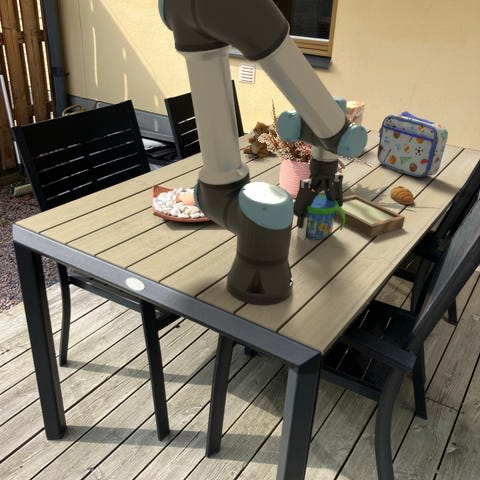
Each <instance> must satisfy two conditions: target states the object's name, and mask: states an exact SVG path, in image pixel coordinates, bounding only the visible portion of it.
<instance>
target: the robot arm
mask: <svg viewBox="0 0 480 480" xmlns="http://www.w3.org/2000/svg"><path fill="white" fill-rule="evenodd" d="M157 1H158V2H157V7H158V9H157V10H158V13H159V17H160V20H161V21H162V23H163V24H164V25H165V26H166V28H167V29H168V30H169V31H171V32H172V35H173V42H174V44H175V45H174V46H175V51H176V52H177V53H178V54H179V55H180V56H182V57H184V59H185V64H186V65H185V66H186V71H187V75H188V76H187V77H188V82H189V89H190V93H191V99H192V107H193V113H194V116H195V117H194V118H195V124H196V129H197V135H198V142H199V146H200V154H201V159H202V165H203V166H202V167H201V168H200V169H199V171H198V174H197V175H198V178H197V180H196V184H195V185H194V187H193V192H192V194H193V195H192V196H193V201H194V204H195V206H196V208H197V210H199V212H201V214H203V216H204V217H206V218H207V219H209V220H211V222H214V223H215V224H217V225H219V226H220V227H222V228H223V229H225V230H227V231H228V232H229V233H232V234H233V235H235V236H236V249H235V250H236V251H235V257H234V260H233V261H232V265H231V266H230V268H229V271H228V272H227V275H226V288H227V291H228V292H229V293H230V294H231V296H232V297H234V298H236V299H238V300H240V301H242V302H245V303H248V304H253V305H259V306H260V305H263V306H264V305H274V304H279V303H281V302H284V301H285V300H287V299H288V298H290V296H291V295H292V293H293V287H294V279H293V276H292V270H291V266H290V261H289V255H290V252H289V251H290V246H291V239H292V238H291V237H292V231H293V223H294V216H295V217H297V219H296V227H297V231H296V237H298V238H299V239H301V240H305V239H306V237H305V236H306V228H307V220H308V218H307V217H306V215H307V213H308V211H307V208H308V206H311V205H312V203H313V201H314V199H315V197H316V196H318V195H320V193H322V192H323V193H324V194H325V195H324V196H326V198H327V199H328V200H331V201H334V200H336V201H337V202H338V205H339V206H340V207H342V206H343V197H344V196H343V194H344V193H343V180H344V175H343V174H341V173H339V172H338V170H339V164H340V163H339V158H340V157H344V158H347V159H356V158H357V157H359V156H360V155H362V153H363V152H364V150H365V149H366V146H367V144H368V139H369V137H368V136H369V135H368V131H367V129H366V128H365V126H362V125H361V126H360V125H358V124H357V123H352V122H350V121H349V119H348V118H347V117H346V107H347V100H346V99H345V98H343V97H341V96H336V95H332V94H331V93H330V91H329V90H328V88H327V87H326V86H325V84H324V83H323V81H322V80H321V78H320V77H319V75H318V74H317V72H316V71H315V70H314V68H313V67H312V65H311V64H310V62H309V61H308V59H307V58H306V56H305V55H304V54H303V52H302V51H301V50H300V47H298V45H297V44H296V42H295V40H294V39H293V38H292V37H291V35H290V29H291V27H290V24H289V22H288V20H287V19H286V17H285V16H284V14H283V13H282V11H281V10H280V9H279V7H278V6H277V5H276V4H275V2H274V1H273V0H157ZM232 47H233V48H235V49H236V50H238V51H239V52H240V53H241V54H242V55H243V57H244V58H245V59H246V60H247V61H249V62H252V63H257V65H258V66H259V67H260V68H261V70H262V71H263V73H265V74H266V76H267V77H268V78H269V79H270V80H271V82H272V83H273V84H274V85H275V87H276V88H277V89H278V90H279V92H280V93H281V94H282V95H283V97H284V98H285V99H286V100H287V102H288V103H289V104H290V105H291V106H292V107H293V108H292V109H289V110H284V111H283V112H281V113H280V114H279V115H278V117H277V120H276V131H277V133H278V135H279V139H281V141H282V142H285V143H296V142H302V143H304V144H307V145H310V146H311V148H310V158H309V167H308V169H309V172H310V175H309V177H308V178H307V179H303V178H301V179H300V180H299V182H298V183H299V185H298V186H299V187H298V192H297V194H296V197H295V200H294V199H293V197H292V195H291V194H290V193H289V192H288V191H287V190H286V189H285V188H283V187H281V186H279V185H278V184H277V185H276V184H274V183H271V184H269V183H268V182H263V181H255V182H251V175H250V167H249V165H248V164H247V163H245V162H244V161H242V155H241V148H240V147H241V146H240V141H239V132H238V131H239V130H238V123H237V122H238V121H237V115H236V113H237V112H236V107H235V99H234V89H233V81H232V75H231V74H232V73H231V65H230V57H229V56H230V55H229V53H230V52H229V51H230V50H231V49H232ZM294 201H295V203H293V202H294ZM302 212H303V213H302ZM335 216H336V214H335ZM335 216H334V218H333V221H332V224H331V227H330V230H329V233H332V232H333V227H334V222H335V221H334V220H336V219H335Z"/></svg>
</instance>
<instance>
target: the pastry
mask: <svg viewBox="0 0 480 480" xmlns="http://www.w3.org/2000/svg"><path fill="white" fill-rule="evenodd" d="M389 193H390V197H391V198H392V200H394V201H396V202H398V203H399V204H403V205H412V204H413V203H414V202H415V200H414V199H415V198H414V194H413V193H412V191H411V190H409V189H408V188H406V187H404V186H402V185H398V186H395V187H393V188H392V189H391V191H390V192H389Z"/></svg>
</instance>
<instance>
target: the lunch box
mask: <svg viewBox="0 0 480 480" xmlns="http://www.w3.org/2000/svg"><path fill="white" fill-rule="evenodd" d="M378 133H379V136H378V137H379V141H378V142H379V143H378V148H377V156H376V157H377V160H378V162H379V163H380V164H381V165H383V166H384V167H386V168H389V169H392V170H394V171H397V172H399V173H401V174H406V175H409V176H413V177H416V178H424V177H427V176H434V175H436V174H437V173H438V172H439V170H440V167H441V163H442V160H443V155H444V153H445V148H446V144H447V142H448V138H449V133H448V130H447V128H446V127H445V126H443V125H441V124H439V123H437V122H433V121H429V120H427V119H425V118H421V117H417V116H415V115H413V114H411V112H409V111H403V112H401V114H389V115H387V116H386V117H385V118H384V119H383V121H382V123H381V125H380V128H379V130H378Z"/></svg>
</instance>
